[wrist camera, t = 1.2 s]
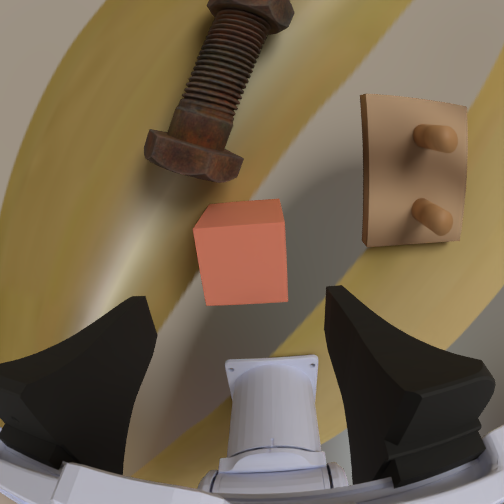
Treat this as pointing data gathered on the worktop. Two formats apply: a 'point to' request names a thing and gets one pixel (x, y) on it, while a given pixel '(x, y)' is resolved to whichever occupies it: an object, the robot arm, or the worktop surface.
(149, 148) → the bolt
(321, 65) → the worktop surface
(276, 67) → the worktop surface
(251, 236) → the salmon cube
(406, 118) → the stub block
